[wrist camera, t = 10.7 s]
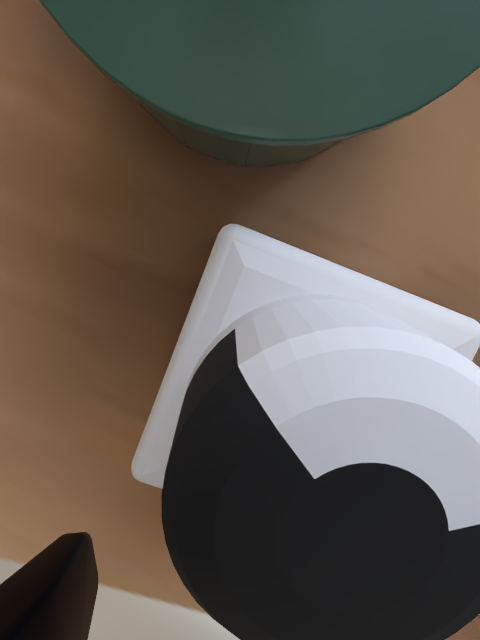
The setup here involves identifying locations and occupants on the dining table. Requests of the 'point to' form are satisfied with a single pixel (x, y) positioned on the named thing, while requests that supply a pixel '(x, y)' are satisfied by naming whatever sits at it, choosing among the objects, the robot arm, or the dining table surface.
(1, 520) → the dining table surface
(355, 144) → the dining table surface
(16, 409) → the dining table surface
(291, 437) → the medicine bottle
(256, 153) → the pot
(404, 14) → the pot lid
